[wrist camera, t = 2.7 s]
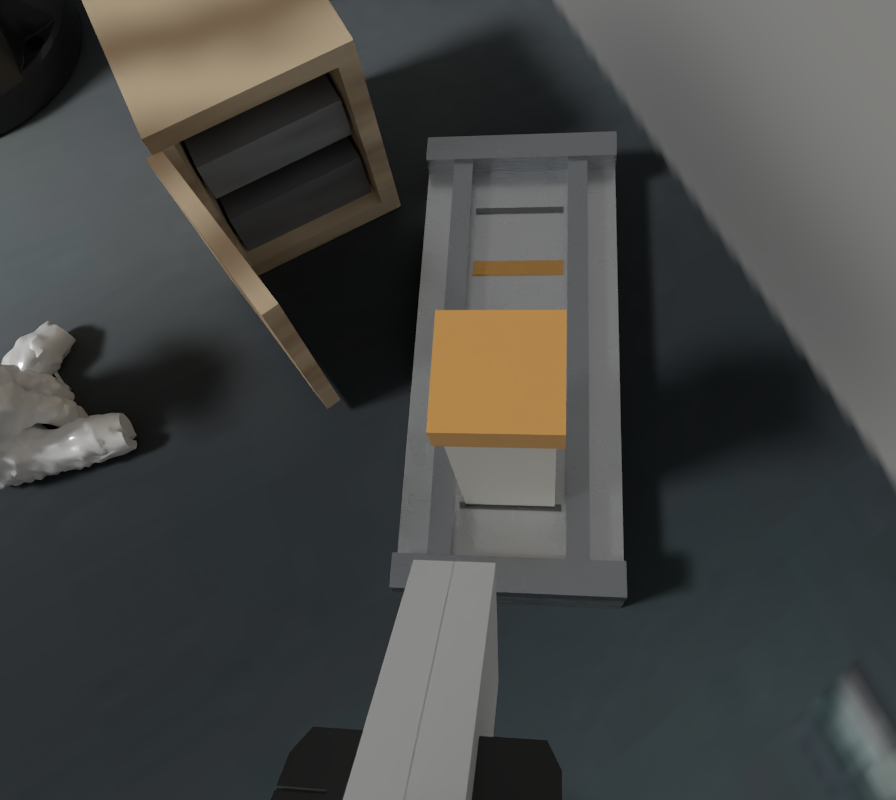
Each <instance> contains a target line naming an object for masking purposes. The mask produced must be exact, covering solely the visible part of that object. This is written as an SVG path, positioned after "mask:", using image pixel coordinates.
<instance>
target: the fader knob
mask: <svg viewBox="0 0 896 800" xmlns="http://www.w3.org/2000/svg"><path fill="white" fill-rule="evenodd" d="M566 353H567V310H435V320H434V333H433V346H432V360H431V373H430V387H429V400H428V414H427V427H426V434H427V436H428V438H429V441H430V443H431V445H432V446H444V448H445V450H446V453H447V456H448V458H449V461H450V464H451V466H452V469H453V472H454V474H455V477H456V479H457V482H458V485H459V487H460V490H461V493H462V495H463V498H464V501H465V503H466V504H487V505H522V506H555V478H556V449H565V445H566Z"/></svg>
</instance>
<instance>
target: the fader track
mask: <svg viewBox="0 0 896 800" xmlns="http://www.w3.org/2000/svg"><path fill="white" fill-rule="evenodd" d="M616 158H617V136H616V131H611V132H580V133H549V134H518V135H486V136H455V137H428V143H427V155H426V162H427V167H428V171H429V183H428V195H427V207H426V219H425V231H424V243H423V255H422V267H421V279H420V291H419V302H418V314H417V326H416V338H415V350H414V362H413V374H412V386H411V398H410V410H409V422H408V434H407V446H406V458H405V470H404V482H403V494H402V506H401V518H400V530H399V542H398V553H393V552H392V563H391V574H390V586H389V587H390V588H391V589H392V590H393V591H394V592H395V593H397V594H398V595H399V596H400V597H401V598H402V597H403V594H404V590H405V587H406V583H407V580H408V577H409V573H410V570H411V566H412V563H413V560H434V561H460V562H487V563H496V602H498V603H520V604H542V605H564V606H587V607H609V608H621V607H622V605H623V604H624V602H625V600H626V599H627V567H626V561H624V548H623V503H622V457H621V412H620V366H619V321H618V276H617V230H616V185H615V167H616ZM435 310H567V353H566V445H565V449H556V478H555V506H522V505H487V504H466V503H465V501H464V498H463V495H462V493H461V490H460V487H459V485H458V482H457V479H456V477H455V474H454V472H453V469H452V466H451V464H450V461H449V458H448V456H447V453H446V450H445V448H444V446H432V445H431V443H430V441H429V438H428V436H427V434H426V427H427V414H428V400H429V387H430V373H431V360H432V346H433V333H434V320H435Z"/></svg>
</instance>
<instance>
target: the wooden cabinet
mask: <svg viewBox="0 0 896 800" xmlns="http://www.w3.org/2000/svg"><path fill="white" fill-rule="evenodd" d="M82 3H83V5H84V7H85V10H86V12H87V14H88V16H89V19H90V21H91V23H92V26H93V28H94V30H95V33H96V35H97V37H98V40H99V42H100V44H101V46H102V49H103V51H104V53H105V56H106V58H107V60H108V63H109V65H110V67H111V70H112V72H113V74H114V77H115V79H116V81H117V83H118V86H119V88H120V90H121V93H122V95H123V97H124V100H125V102H126V104H127V107H128V109H129V111H130V113H131V116H132V118H133V120H134V123H135V125H136V127H137V130H138V132H139V134H140V137H141V139H142V140H143V142H144V143H145V145H146V146H147V148H148V149H149V151H150V152H151V153H152V155H151V156H149V157H148V158H146V159H145V160H146V161H147V162H148V164H149V165H150V167H151V168H152V169H153V171H154V172H155V174H156V175H157V176H158V178H159V179H160V181H161V182H162V183H163V185H164V186H165V188H166V189H167V190H168V192H169V193H170V195H171V196H172V197H173V199H174V200H175V202H176V203H177V204H178V206H179V207H180V209H181V210H182V211H183V213H184V214H185V216H186V217H187V218H188V220H189V221H190V223H191V224H192V225H193V227H194V228H195V230H196V231H197V232H198V234H199V235H200V237H201V238H202V239H203V241H204V242H205V243H206V245H207V246H208V248H209V249H210V250H211V252H212V253H213V255H214V256H215V257H216V259H217V260H218V262H219V263H220V264H221V266H222V267H223V269H224V270H225V271H226V273H227V274H228V276H229V277H230V278H231V280H232V281H233V282H234V284H235V285H236V287H237V288H238V289H239V291H240V292H241V293H242V295H243V296H244V297H245V299H246V300H247V301H248V303H249V304H250V305H251V307H252V308H253V309H254V311H255V312H256V313H257V315H258V316H259V318H260V319H261V320H262V322H263V323H264V324H265V326H266V327H267V328H268V330H269V331H270V332H271V334H272V335H273V336H274V338H275V339H276V340H277V342H278V343H279V344H280V346H281V347H282V349H283V350H284V351H285V353H286V354H287V355H288V357H289V358H290V359H291V361H292V362H293V363H294V365H295V366H296V367H297V369H298V370H299V371H300V373H301V374H302V375H303V377H304V378H305V379H306V381H307V382H308V384H309V385H310V386H311V388H312V389H313V390H314V392H315V393H316V394H317V396H318V397H319V398H320V400H321V401H322V402H323V404H324V405H325V406H326V408H327V409H328V408H330V407H331V406H333V405H334V404H335V403H337V402H338V401H340V398H339V397H338V395H337V394H336V392H335V391H334V389H333V387H332V386H331V384H330V383H329V381H328V380H327V378H326V377H325V375H324V373H323V372H322V370H321V369H320V367H319V366H318V364H317V363H316V361H315V359H314V358H313V356H312V355H311V353H310V352H309V350H308V349H307V347H306V345H305V344H304V342H303V341H302V339H301V338H300V336H299V335H298V333H297V331H296V330H295V328H294V327H293V325H292V324H291V322H290V321H289V319H288V318H287V316H286V314H285V313H284V311H283V310H282V308H281V307H280V305H279V304H278V302H277V301H276V300H275V298H274V297H273V296H272V294H271V293H270V292H269V290H268V289H267V288H266V286H265V285H264V284H263V283H262V281H261V280H260V279H259V277H258V276H259V275H261V274H263V273H265V272H267V271H269V270H271V269H273V268H275V267H277V266H279V265H281V264H283V263H286V262H288V261H290V260H292V259H294V258H296V257H298V256H300V255H302V254H304V253H306V252H308V251H310V250H312V249H314V248H316V247H318V246H320V245H322V244H324V243H326V242H329V241H331V240H333V239H335V238H337V237H339V236H341V235H343V234H345V233H347V232H349V231H351V230H353V229H355V228H357V227H359V226H361V225H363V224H365V223H367V222H369V221H372V220H374V219H376V218H378V217H380V216H382V215H384V214H386V213H388V212H390V211H392V210H394V209H396V208H398V207H400V206H401V204H400V201H399V197H398V194H397V190H396V187H395V183H394V180H393V176H392V173H391V169H390V166H389V162H388V159H387V155H386V152H385V148H384V145H383V141H382V138H381V134H380V131H379V127H378V124H377V120H376V117H375V113H374V110H373V106H372V103H371V99H370V96H369V92H368V89H367V85H366V82H365V78H364V75H363V71H362V68H361V64H360V61H359V57H358V54H357V50H356V47H355V43H354V40H353V38H352V37H351V35H350V34H349V32H348V30H347V29H346V27H345V26H344V24H343V22H342V21H341V19H340V18H339V16H338V14H337V13H336V11H335V10H334V8H333V6H332V5H331V3H330V2H329V0H82Z"/></svg>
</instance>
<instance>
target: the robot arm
mask: <svg viewBox="0 0 896 800" xmlns="http://www.w3.org/2000/svg"><path fill="white" fill-rule="evenodd" d="M81 41H82V26H81V20H80V16H79V14H78V11H77V9H76V7H75V6H74V4H73V2H72V1H71V0H0V134H2V133H4V132H6V131H8V130H10V129H12V128H14V127H16V126H17V125H19V124H20V123H22V122H24V121H25V120H27V119H28V118H29V117H31V116H32V115H33V114H35V113H36V112H37V111H38V110H40V109H41V108H42V107H43V106H44V105H45V104H46V103H47V102H48V101H49V100H50V99H51V98H52V97H53V96H54V95H55V94H56V93H57V92H58V90H59V89H60V88H61V87H62V85H63V84H64V82H65V81H66V79H67V78H68V76H69V75H70V73H71V71H72V69H73V67H74V65H75V63H76V60H77V58H78V55H79V51H80V47H81ZM497 691H498V647H497V602H496V563H487V562H460V561H434V560H413V563H412V566H411V570H410V573H409V577H408V580H407V583H406V587H405V590H404V594H403V597H402V600H401V604H400V607H399V611H398V614H397V617H396V621H395V624H394V628H393V631H392V634H391V638H390V641H389V645H388V648H387V651H386V655H385V658H384V662H383V665H382V668H381V672H380V675H379V679H378V682H377V685H376V689H375V692H374V695H373V699H372V702H371V706H370V709H369V712H368V716H367V719H366V723H365V726H364V729H363V730H353V729H338V728H323V727H313V728H312V729H311V730H310V731H309V732H308V733H307V734H306V735H305V736H304V737H303V739H302V740H301V741H300V742H299V743H298V744H297V745H296V746H295V747H294V748H293V749H292V751H291V752H290V753H289V755H288V758H287V760H286V763H285V765H284V768H283V771H282V773H281V776H280V778H279V781H278V783H277V790H275V791H274V793H273V796H272V799H271V800H562V770H561V768H560V766H559V764H558V762H557V760H556V758H555V756H554V754H553V751H552V749H551V747H550V745H549V743H548V741H547V740H533V739H518V738H503V737H493V731H494V721H495V711H496V701H497Z"/></svg>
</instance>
